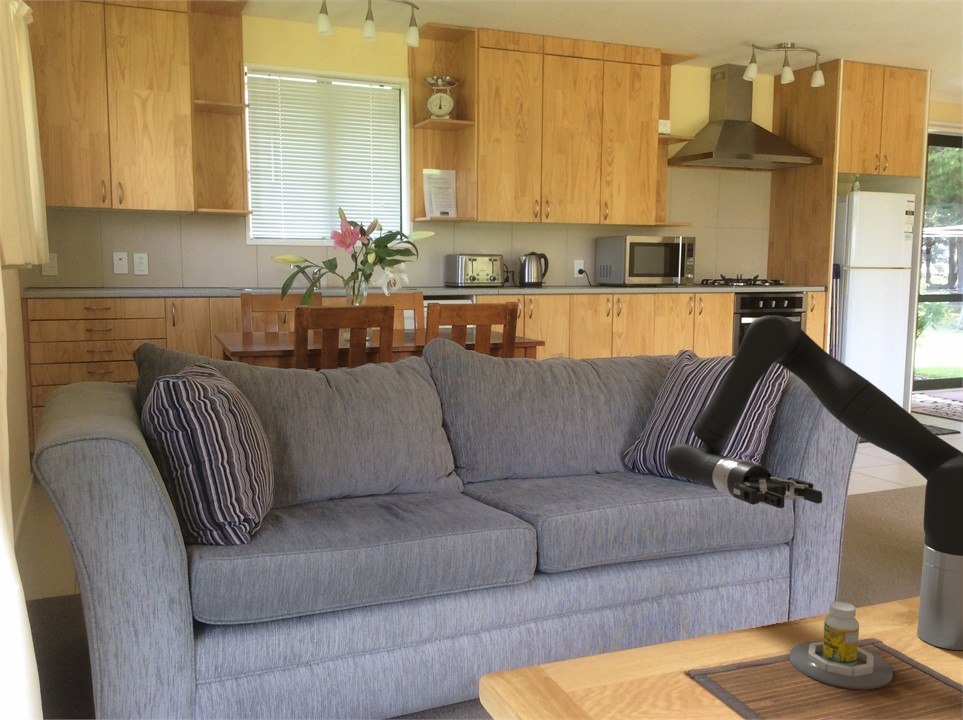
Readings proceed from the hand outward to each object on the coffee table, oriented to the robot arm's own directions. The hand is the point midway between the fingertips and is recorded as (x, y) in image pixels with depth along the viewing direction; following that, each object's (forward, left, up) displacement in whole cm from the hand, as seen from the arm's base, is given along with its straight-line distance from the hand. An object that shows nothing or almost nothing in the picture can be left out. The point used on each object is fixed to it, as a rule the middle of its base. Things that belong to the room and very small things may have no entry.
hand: (802, 500), depth 150 cm
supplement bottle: (+8, +8, -25) cm, 27 cm away
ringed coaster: (+8, +8, -26) cm, 28 cm away
